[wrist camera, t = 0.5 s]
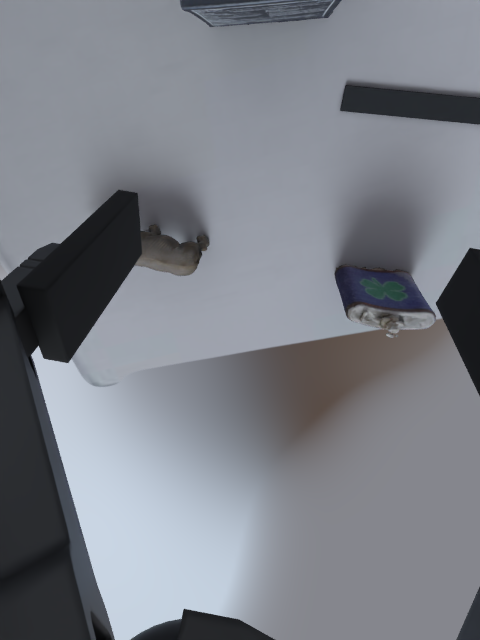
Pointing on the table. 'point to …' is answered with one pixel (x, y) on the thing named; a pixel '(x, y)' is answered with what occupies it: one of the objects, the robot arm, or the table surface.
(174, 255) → the rhino figurine
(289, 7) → the small box
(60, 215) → the table surface
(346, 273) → the flask
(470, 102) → the bay
